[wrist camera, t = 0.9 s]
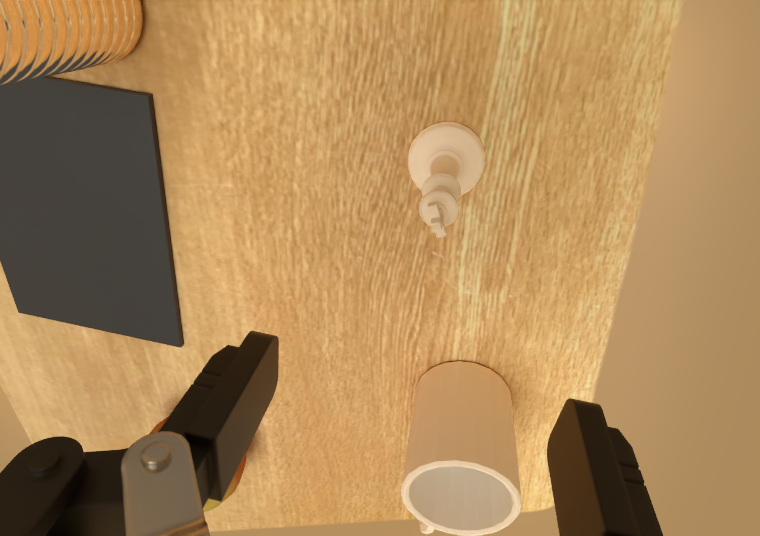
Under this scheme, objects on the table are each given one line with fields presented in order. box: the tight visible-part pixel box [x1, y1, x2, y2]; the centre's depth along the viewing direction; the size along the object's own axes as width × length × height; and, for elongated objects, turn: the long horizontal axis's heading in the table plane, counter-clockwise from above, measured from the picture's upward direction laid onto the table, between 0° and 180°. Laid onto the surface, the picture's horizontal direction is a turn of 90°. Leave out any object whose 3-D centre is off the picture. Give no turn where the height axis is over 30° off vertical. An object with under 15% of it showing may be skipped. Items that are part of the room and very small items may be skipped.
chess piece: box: [408, 122, 485, 238], centre depth 26 cm, size 5×5×10 cm
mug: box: [401, 361, 522, 536], centre depth 37 cm, size 8×12×10 cm
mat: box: [0, 76, 184, 347], centre depth 38 cm, size 22×16×1 cm
